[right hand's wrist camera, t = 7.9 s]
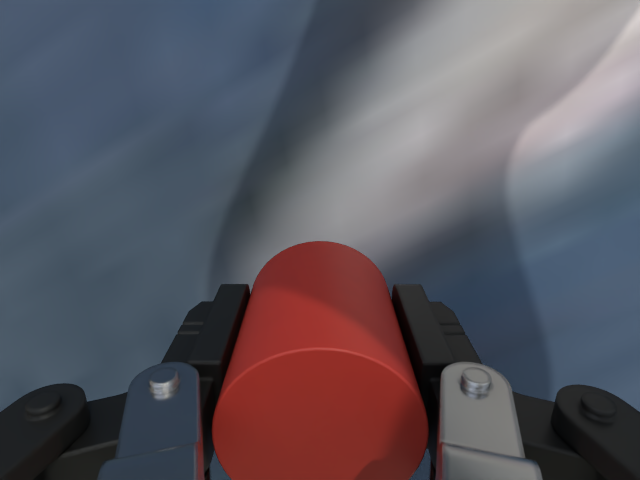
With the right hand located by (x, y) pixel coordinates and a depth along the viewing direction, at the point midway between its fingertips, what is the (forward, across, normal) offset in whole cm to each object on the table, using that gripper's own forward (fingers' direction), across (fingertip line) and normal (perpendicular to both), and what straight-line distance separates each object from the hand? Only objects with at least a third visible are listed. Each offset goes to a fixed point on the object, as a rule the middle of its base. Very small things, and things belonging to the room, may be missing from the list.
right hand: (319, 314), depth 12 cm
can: (0, 0, 0) cm, 0 cm away
